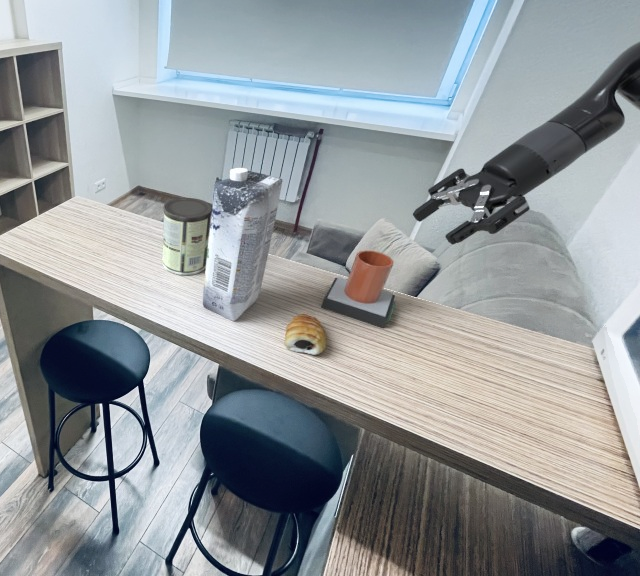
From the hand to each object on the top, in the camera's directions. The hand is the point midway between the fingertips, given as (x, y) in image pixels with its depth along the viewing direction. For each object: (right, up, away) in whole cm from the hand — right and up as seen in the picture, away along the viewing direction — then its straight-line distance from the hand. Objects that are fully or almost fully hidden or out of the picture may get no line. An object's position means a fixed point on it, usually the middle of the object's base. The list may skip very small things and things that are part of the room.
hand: (431, 228), depth 70 cm
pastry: (-21, -20, +2) cm, 29 cm away
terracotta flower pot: (-7, -11, +8) cm, 16 cm away
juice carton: (-32, -14, +11) cm, 37 cm away
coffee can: (-40, -5, +24) cm, 46 cm away
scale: (-7, -14, +10) cm, 18 cm away
